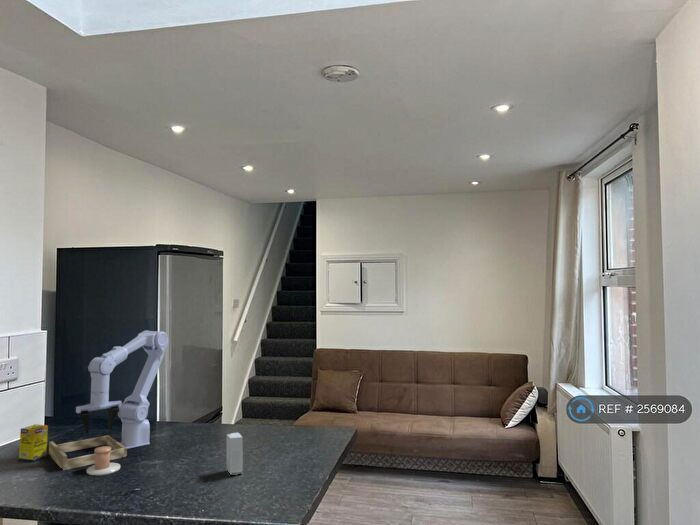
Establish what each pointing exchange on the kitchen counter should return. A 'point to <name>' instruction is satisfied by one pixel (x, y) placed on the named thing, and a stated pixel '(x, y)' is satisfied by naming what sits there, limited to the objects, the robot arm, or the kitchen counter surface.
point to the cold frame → (61, 457)
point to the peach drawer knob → (102, 457)
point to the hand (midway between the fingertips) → (98, 430)
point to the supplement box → (33, 442)
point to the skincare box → (234, 453)
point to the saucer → (103, 470)
